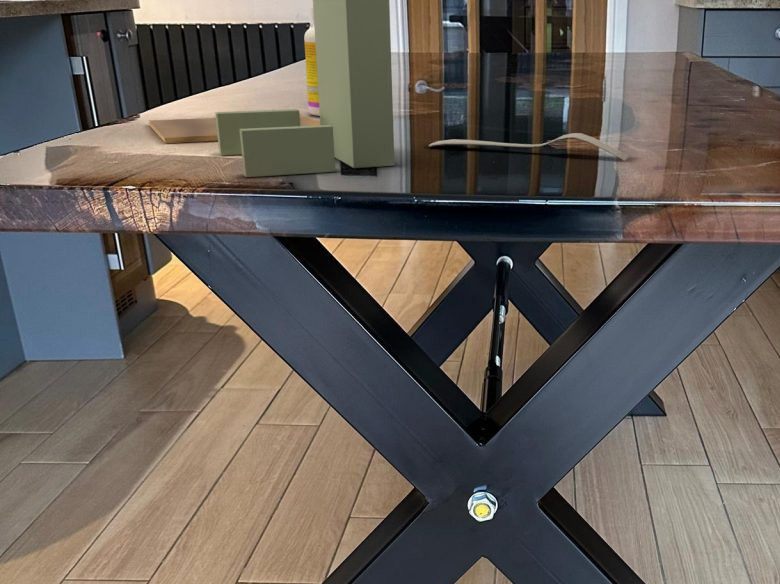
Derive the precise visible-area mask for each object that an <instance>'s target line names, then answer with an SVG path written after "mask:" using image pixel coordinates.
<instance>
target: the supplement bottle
mask: <svg viewBox="0 0 780 584" xmlns="http://www.w3.org/2000/svg"><path fill="white" fill-rule="evenodd" d="M310 16H311V19H312V26H311V27H310V28H308V29H307V30H306V31H305V33H304V37H303V38H304V55H305V72H306V88H307V89H306V92H307V106H308V108H307V109H308V112H309V113H310V114H311V115H313V116H316V117H320V109H319V93H318V76H317V60H316V44H315V28H314V11H313V5H312V6H311V5H310Z"/></svg>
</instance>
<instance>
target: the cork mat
mask: <svg viewBox="0 0 780 584" xmlns="http://www.w3.org/2000/svg"><path fill="white" fill-rule="evenodd" d="M148 125H149V127H150V128H151V129H152V130H153V131H154V133H156V134H157V136H158V137H159V138H160V139H161V140H162V141H163V143H165V144H178V143H181V144H183V143H184V144H185V143H200V142H201V143H203V142H218V135H217V125H216V117H201V118H200V117H199V118H178V119H177V118H176V119H175V118H174V119H151V120H148ZM316 125H320V121H317V120H315V119H312V118H310V117H308V116H306V115H304V114H301V113H300V126H316Z"/></svg>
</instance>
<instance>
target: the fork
mask: <svg viewBox="0 0 780 584" xmlns="http://www.w3.org/2000/svg"><path fill="white" fill-rule="evenodd" d="M566 139H576V140H578V141H582V142H586V143H588V144H591V145H592V146H595V147H596V148H599V149H601V150H604V151H605V152H608V153H609V154H611V155H613V156H615V157H617V158H618V159H620V160H622V161H624V162H626V161H627V160H628V159H629V156H628V155H626V154H624V153H623V152H621V151H619V150H618V149H616V148H615V147H613V146H611V145H610V144H607V143H605V142H604V141H602V140H599V139H598V138H595V137H593V136H590V135H587V134H584V133H580V132H573V133H568V134H563V135H561V136H559V137H557V138H555V139H553V140H550V141H547V142H544V143H535V144H529V143H509V142H498V141H486V140H475V139H473V140H472V139H458V138H457V139H454V138H451V139H445V140H438V141H434V142H432V143H429V144H428V147H429V148H432V147H439V146H484V147H502V148H503V147H505V148H529V149H530V148H531V149H532V148H533V149H534V148H541V147H544V146H548V145H551V144H552V143H555V142H558V141H561V140H566Z"/></svg>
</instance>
